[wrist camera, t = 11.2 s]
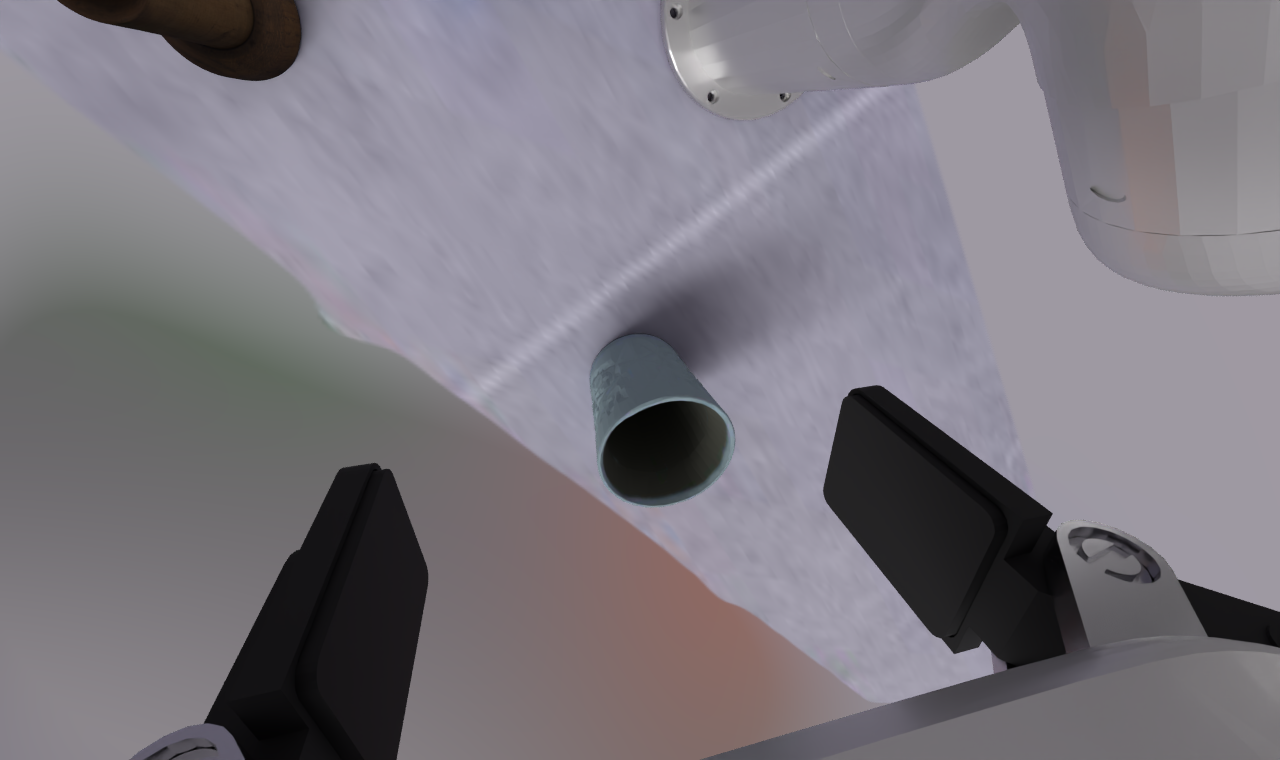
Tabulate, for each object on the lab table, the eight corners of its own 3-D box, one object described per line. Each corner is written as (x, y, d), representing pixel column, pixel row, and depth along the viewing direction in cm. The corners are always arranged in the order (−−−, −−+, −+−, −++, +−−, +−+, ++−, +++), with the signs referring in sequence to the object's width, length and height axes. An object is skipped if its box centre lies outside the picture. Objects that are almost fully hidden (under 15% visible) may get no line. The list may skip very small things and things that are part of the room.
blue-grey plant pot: (705, 355, 45) (761, 426, 35) (648, 436, 48) (684, 523, 38) (614, 307, 41) (648, 373, 30) (558, 400, 44) (572, 487, 33)
